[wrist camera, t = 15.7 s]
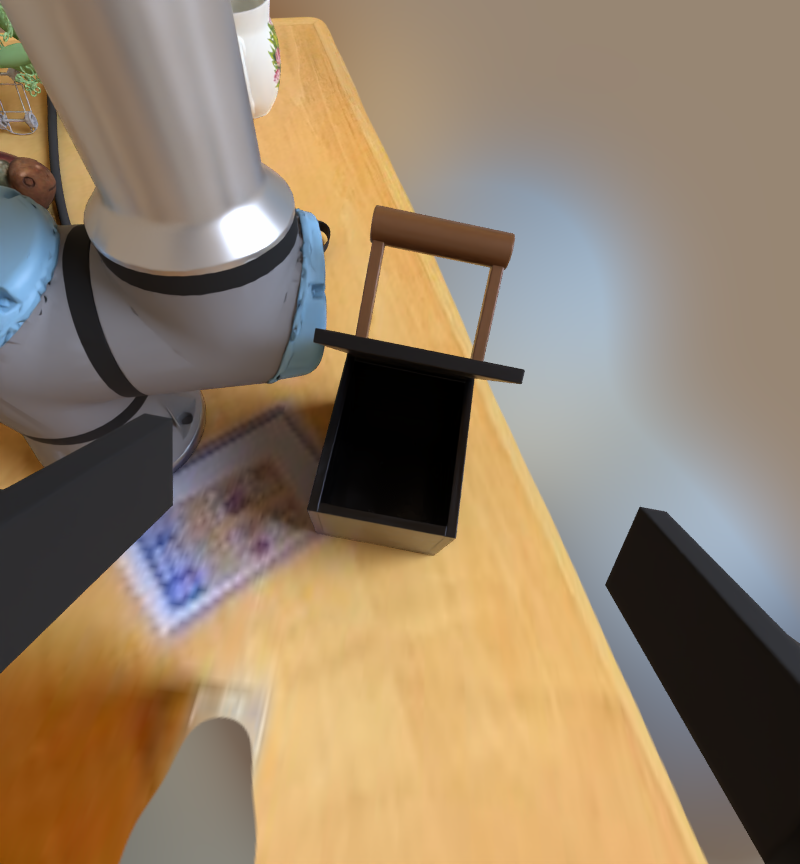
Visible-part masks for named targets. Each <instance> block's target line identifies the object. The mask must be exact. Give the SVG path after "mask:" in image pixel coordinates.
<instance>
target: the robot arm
mask: <svg viewBox="0 0 800 864" xmlns="http://www.w3.org/2000/svg"><path fill="white" fill-rule="evenodd" d="M0 4H1V5H2V7H3V9H4V11H5V13H6V15H7V17H8V19H9V21H10V23H11V25H12V27H13V28H14V30H15V32H16V34H17V36H18V38H19V40H20V42H21V44H22V46H23V48H24V50H25V51H26V53H27V55H28V57H29V59H30V61H31V63H32V65H33V67H34V69H35V71H36V73H37V74H38V76H39V78H40V80H41V82H42V84H43V86H44V88H45V90H46V92H47V105H48V139H49V158H50V168H51V173H52V174H53V176H54V178H55V180H56V192H55V201H56V205H57V209H58V214H59V218H60V221H61V225H57V224H56V222H55V221H54V218H53V217H52V215H51V214H50V213H49V212H48V210H47V209H46V208H44V207H43V206H41V205H40V204H37V203H36V202H35V201H34V200H33V199H31V198H30V197H27V196H24V195H22V194H21V193H20V192H18V191H16V190H15V189H12V188H9V187H5V186H0V422H1V423H2V424H4V425H6V426H8V427H10V428H12V429H14V430H15V431H17V432H19V433H21V434H22V435H23V436H24V438H25V439H26V441H27V442H28V444H29V446H30V447H31V449H32V450H33V452H34V454H35V455H36V457H37V458H38V460H39V461H40V463H41V464H42V465H43V466H44V467H45V468H43V469H41V470H39V471H37V472H35V473H33V474H32V475H30V476H28V477H26V478H24V479H22V480H21V481H19V482H17V483H15V484H13V485H11V486H10V487H8V488H6V489H4V490H2V489H0V673H1V672H2V671H3V670H4V669H5V668H6V667H7V666H8V665H9V664H10V663H11V662H12V661H13V660H15V659H16V658H17V657H18V656H19V655H20V654H21V653H22V652H23V651H24V650H25V649H26V648H27V647H28V646H29V645H30V644H31V643H32V642H33V641H34V640H35V639H36V638H37V637H38V636H39V635H40V634H41V633H42V632H43V631H44V630H45V629H46V628H47V627H48V626H49V625H50V624H51V623H52V622H53V621H55V620H56V619H57V618H58V617H59V616H60V615H61V614H62V613H63V612H64V611H65V610H66V609H67V608H68V607H69V606H70V605H71V604H72V603H73V602H74V601H75V600H76V599H77V598H78V597H79V596H80V595H81V594H82V593H83V592H84V591H85V590H86V589H87V588H88V587H89V586H90V585H91V584H92V583H93V582H95V581H96V580H97V579H98V578H99V577H100V576H101V575H102V574H103V573H104V572H105V571H106V570H107V569H108V568H109V567H110V566H111V565H112V564H113V563H114V562H115V561H116V560H117V559H118V558H119V557H120V556H121V555H122V554H123V553H124V552H125V551H126V550H127V549H128V548H129V547H130V546H131V545H132V544H133V543H134V542H136V541H137V540H138V539H139V538H140V537H141V536H142V535H143V534H144V533H145V532H146V531H147V530H148V529H149V528H150V527H151V526H152V525H153V524H154V523H155V522H156V521H157V520H158V519H159V518H160V517H161V516H162V515H163V514H164V513H165V512H166V511H167V510H168V509H169V508H170V507H171V506H172V505H173V473H174V472H176V471H177V470H178V469H179V468H180V467H181V466H182V465H183V464H184V463H185V462H186V461H187V460H188V459H189V457H190V456H191V455H192V453H193V452H194V450H195V449H196V447H197V445H198V444H199V441H200V439H201V437H202V434H203V431H204V427H205V421H206V408H205V402H204V398H203V395H202V393H201V391H200V390H205V389H214V388H224V387H233V386H242V385H252V384H261V383H267V384H270V383H274V382H276V381H278V380H280V379H286V378H291V377H297V376H302V375H306V374H309V373H311V372H312V371H313V370H315V369H316V368H317V366H318V365H319V363H320V361H321V359H322V356H323V352H324V347H325V346H323V345H320V344H317V343H314V342H313V339H314V333H315V328H320V329H325V330H326V314H327V313H326V296H325V292H324V290H325V261H324V251H323V243H322V236H321V231H320V228H319V223H318V221H317V219H316V217H315V216H314V215H313V214H312V213H310V212H306V211H303V210H299V209H295V202H294V198H293V194H292V192H291V190H290V188H289V186H288V184H287V183H286V181H285V180H284V179H283V178H282V177H281V176H280V175H279V174H278V173H276V172H275V171H274V170H272V169H271V168H269V167H268V166H266V165H265V164H263V163H262V162H261V158H260V153H259V147H258V142H257V137H256V132H255V127H254V121H253V116H252V111H251V106H250V100H249V95H248V90H247V85H246V79H245V74H244V69H243V64H242V58H241V53H240V48H239V43H238V37H237V32H236V27H235V22H234V17H233V11H232V6H231V1H230V0H0ZM57 113H58V115H59V117H60V119H61V121H62V122H63V124H64V126H65V128H66V130H67V132H68V134H69V136H70V138H71V140H72V142H73V144H74V145H75V147H76V149H77V151H78V153H79V155H80V157H81V159H82V161H83V163H84V165H85V167H86V169H87V170H88V172H89V174H90V176H91V178H92V180H93V182H94V184H95V186H96V187H95V189H94V191H93V193H92V195H91V197H90V198H89V200H88V202H87V205H86V208H85V211H84V224H79V225H71V224H70V220H69V216H68V212H67V208H66V204H65V199H64V194H63V188H62V182H61V175H60V167H59V155H58V138H57ZM605 585H606V587H607V589H608V591H609V592H610V594H611V596H612V598H613V599H614V601H615V603H616V605H617V606H618V608H619V610H620V612H621V613H622V615H623V617H624V618H625V620H626V622H627V624H628V625H629V627H630V629H631V631H632V632H633V634H634V636H635V638H636V639H637V641H638V643H639V645H640V646H641V648H642V650H643V652H644V653H645V655H646V656H647V659H648V660H649V662H650V664H651V666H652V667H653V669H654V671H655V673H656V674H657V676H658V678H659V680H660V681H661V683H662V685H663V687H664V688H665V690H666V692H667V693H668V695H669V697H670V699H671V700H672V702H673V704H674V706H675V707H676V709H677V711H678V713H679V714H680V716H681V718H682V720H683V721H684V723H685V725H686V726H687V728H688V730H689V732H690V734H691V735H692V737H693V739H694V741H695V742H696V744H697V746H698V747H699V749H700V751H701V753H702V754H703V756H704V758H705V760H706V761H707V763H708V765H709V767H710V768H711V770H712V772H713V773H714V775H715V777H716V779H717V781H718V782H719V784H720V786H721V788H722V789H723V791H724V793H725V795H726V796H727V798H728V800H729V801H730V803H731V805H732V807H733V809H734V810H735V812H736V814H737V815H738V817H739V819H740V821H741V822H742V824H743V826H744V828H745V829H746V831H747V833H748V835H749V836H750V838H751V840H752V842H753V843H754V845H755V847H756V849H757V850H758V852H759V854H760V855H761V857H762V859H763V861H764V863H765V864H800V643H798V642H797V641H795V640H794V639H793V638H791V637H790V636H789V635H787V634H786V633H785V632H784V631H783V630H782V629H781V628H780V627H779V626H778V624H777V623H776V622H774V621H773V620H772V618H770V617H769V615H767V614H766V612H765V611H764V610H763V609H762V608H761V607H760V606H759V605H758V604H757V603H756V602H755V601H754V600H753V599H752V598H751V597H750V596H749V595H748V594H747V593H746V592H745V591H744V590H743V589H742V588H741V587H740V586H739V585H738V584H737V583H736V582H735V581H734V580H733V579H732V578H731V577H730V576H729V575H728V574H727V573H726V572H725V571H724V570H723V569H722V568H721V567H720V566H719V565H718V564H717V563H716V562H715V561H714V560H713V559H712V558H711V557H710V556H709V555H708V554H707V553H706V552H705V551H704V550H703V549H702V548H701V547H700V546H699V545H698V544H697V542H696V541H695V540H694V539H693V538H692V537H690V536H689V534H688V533H687V532H686V531H685V530H683V528H682V527H681V526H680V525H679V524H678V523H677V522H676V521H675V520H674V519H673V518H672V517H671V516H670V515H669V514H668V513H667V512H664V511H659V510H654V509H648V508H643V507H639V510H638V512H637V514H636V517H635V519H634V521H633V523H632V526H631V528H630V530H629V532H628V535H627V537H626V539H625V541H624V544H623V546H622V548H621V550H620V553H619V555H618V557H617V559H616V562H615V564H614V566H613V568H612V571H611V573H610V575H609V577H608V580H607V582H606V584H605Z"/></svg>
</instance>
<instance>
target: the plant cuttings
mask: <svg viewBox="0 0 800 864" xmlns="http://www.w3.org/2000/svg"><path fill="white" fill-rule="evenodd" d="M0 27H1V28H2V29H3V30H4V31H6V32H5V33H4V35H1V34H0V36H3V40H4V41H5V42H7V41H8V39H9V34H10V37H11V38H12V36H13V37H14V38H16V39H17V40H19V38H18V36H17V34H16V32H15V30H14V28H13V27H12V25H11V23H10V21H9V19H8V17H7V15H6V13H5V11H4V9H3V7H2V5H1V4H0ZM6 36H7V38H6V39H5V37H6ZM19 41H20V40H19ZM0 42H1V40H0ZM1 44H2V42H1ZM1 44H0V48H1V49H0V68H8V71H7V73H1V72H0V75H7V76H9V77H11V79H12V80H13V81H14V83H15V82H18V83H20V82H23V83H25V86H24V87H23V84H21V83H20V84H16V83H15V84H0V85H15V86H16V85H22V87H23V90H24V88H25V89H26V87H27V88H29V89H26V90H27V91H30V95H31V96H33V97H35V96H36V95H37V93H41V89H40V88H39V87H38V86H37V85H36V84H37V83H39V82H40V81H41V80H40V78H39V79H38V78H37V75H38V74H37V73H36V71H35V69H34V67H33V65H32V63H31V61H30V59H29V57H28V55H27V53H26V51H25V50H24V48H23V46H22V44H21V43H16V44H12V45H9V46H6V47H4V45H3V44H2V46H1ZM19 71H20V72H22V73H25V74H21V73H20V72H19ZM21 75H23V76H24V78H25V79H26V80H28V81H26V80H25V79H23V78H22V76H21ZM27 75H29V76H31V77H32V76H33V75H36V79H37V80H35V79H34V78H33V77H32V78H31V77H29V76H27ZM31 80H33V81H31ZM30 83H31V84H30ZM40 83H41V84H42V82H40ZM27 84H29V85H30V86H29V87H28V86H27ZM34 85H35V86H34ZM36 88H38V89H39V92H37V91H36V90H35V89H36ZM16 89H17V92H18V94H19V91H18V88H17V86H16ZM31 90H32V91H33V90H34V91H35V95H32V93H31ZM24 93H25V90H24ZM25 96H26V93H25ZM19 97H20V94H19ZM26 99H27V96H26ZM20 100H21V97H20ZM27 102H28V99H27ZM21 103H22V100H21ZM0 104H1V106H2V103H1V101H0ZM28 105H29V102H28ZM22 106H23V109H24V111H4V108H3V106H2V109H3V111H0V112H4V114H5V112H25V117H24V119H7V116H6V114H5V115H4V116H3V115H2V114H1V113H0V127H1V128H0V129H6V128H5V127H7V125H8V124H9V122H26V123H27V124H28V125H29V126H30V128H31V127H33V128H35V130H34V131H32V128H31V131H32V132H31V133H33V132H35V131H36V130H37V127H38V122H37V119H36V117H35V116H34V114H32V111H31V108H30V105H29V108H30V111H25V108H24V105H23V103H22ZM26 112H29V113H26ZM5 116H6V117H5ZM7 123H8V124H7ZM8 126H9V127H10V124H9V125H8ZM10 129H11V127H10ZM6 130H8V129H6ZM8 131H9V132H12V129H11V131H10V130H8ZM12 133H14V132H12ZM31 133H27V134H19V133H14V134H19V135H28V134H31Z"/></svg>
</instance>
